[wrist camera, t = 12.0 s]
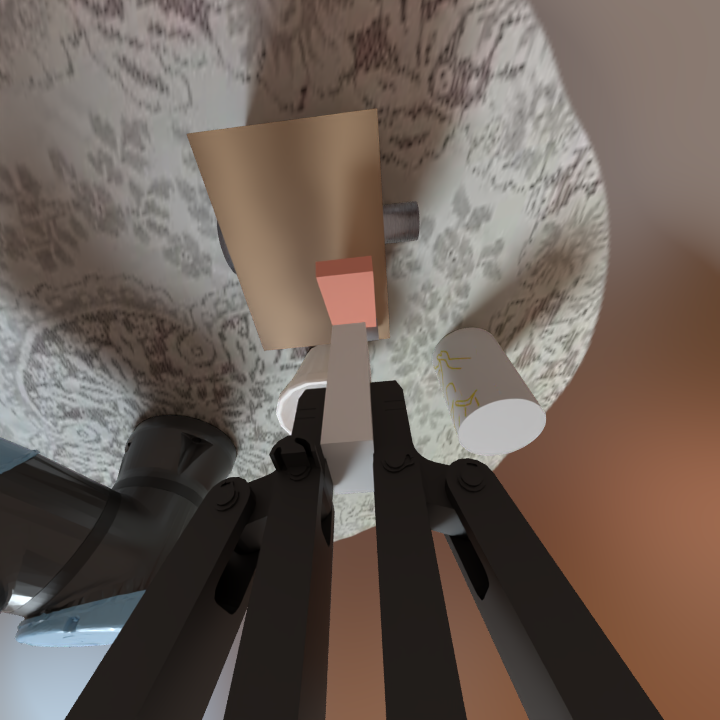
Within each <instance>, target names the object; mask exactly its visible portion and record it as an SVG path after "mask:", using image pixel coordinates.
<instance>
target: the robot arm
mask: <svg viewBox="0 0 720 720" xmlns="http://www.w3.org/2000/svg"><path fill="white" fill-rule="evenodd" d="M38 453H40V451H38V450H30V449H28V448H25V447H23V446H20V445H18V444H16V443H13V442H11V441H8V440H6V439H4V438H1V437H0V613H1V612H4V613H10V614H14V615H19V616H23V617H24V618H25V619H24V621H22V622H21V623H20V624H19V626H18V631H17V634H16V641H18V642H19V643H26V644H29V645H32V646H46V647H74V646H76V647H78V646H96V645H107V644H112V645H111V647H110V648H109V650H108V651H107V653H106V655H105V656H104V658H103V660H102V661H101V663H100V664H99V666H98V667H97V669H96V671H95V672H94V674H93V675H92V677H91V678H90V680H89V682H88V683H87V685H86V687H85V688H84V689H83V691H82V693H81V694H80V696H79V697H78V699H77V701H76V702H75V704H74V705H73V707H72V708H71V710H70V712H69V713H68V715H67V716H66V718H65V720H202V718H203V716H204V713H205V711H206V708H207V706H208V703H209V701H210V698H211V696H212V693H213V691H214V689H215V686H216V684H217V681H218V679H219V676H220V674H221V671H222V669H223V666H224V664H225V661H226V659H227V657H228V654H229V651H230V649H231V647H232V644H233V642H234V639H235V637H236V634H237V632H238V629H239V627H240V624H241V622H242V620H243V617H244V615H245V612H246V610H247V613H246V617H245V622H244V627H243V631H242V636H241V640H240V645H239V650H238V655H237V659H236V664H235V668H234V674H233V678H232V682H231V687H230V691H229V696H228V701H227V705H226V710H225V714H224V719H223V720H325V714H326V713H325V712H326V691H327V670H328V646H329V626H330V604H331V581H332V558H333V537H334V515H335V511H334V505H333V502H332V499H333V489H334V493H335V495H336V494H350V493H363V492H374V498H375V516H376V535H377V553H378V571H379V589H380V608H381V627H382V646H383V664H384V683H385V702H386V720H467V718H466V712H465V707H464V702H463V697H462V691H461V686H460V680H459V675H458V670H457V665H456V660H455V654H454V649H453V644H452V638H451V633H450V628H449V622H448V617H447V612H446V606H445V601H444V596H443V591H442V585H441V580H440V575H439V570H438V564H437V559H436V554H435V549H434V543H433V537H432V532H431V530H434V531H437V532H441V533H444V535H445V537H446V539H447V542H448V544H449V546H450V548H451V550H452V553H453V555H454V557H455V559H456V561H457V563H458V565H459V568H460V570H461V572H462V574H463V576H464V578H465V581H466V583H467V585H468V587H469V589H470V592H471V594H472V596H473V598H474V600H475V603H476V604H477V607H478V609H479V611H480V613H481V615H482V618H483V619H484V622H485V624H486V626H487V628H488V631H489V633H490V635H491V637H492V639H493V642H494V644H495V646H496V648H497V650H498V652H499V654H500V657H501V659H502V661H503V663H504V666H505V668H506V670H507V672H508V674H509V676H510V679H511V681H512V683H513V685H514V687H515V689H516V692H517V694H518V696H519V698H520V700H521V703H522V705H523V707H524V709H525V711H526V713H527V716H528V718H529V720H664V719H663V718H662V716H661V715H660V714H659V712H658V710H657V709H656V708H655V706H654V705H653V703H652V702H651V701H650V699H649V697H648V696H647V695H646V693H645V692H644V690H643V689H642V688H641V686H640V684H639V683H638V681H637V680H636V679H635V677H634V676H633V674H632V673H631V671H630V670H629V668H628V667H627V665H626V664H625V663H624V661H623V660H622V658H621V657H620V655H619V654H618V652H617V651H616V650H615V648H614V647H613V645H612V644H611V642H610V641H609V639H608V638H607V637H606V635H605V634H604V632H603V631H602V629H601V628H600V626H599V625H598V623H597V622H596V621H595V619H594V618H593V616H592V615H591V613H590V612H589V610H588V609H587V608H586V606H585V605H584V603H583V602H582V600H581V599H580V598H579V596H578V594H577V593H576V592H575V590H574V589H573V587H572V586H571V584H570V583H569V581H568V580H567V579H566V577H565V576H564V574H563V573H562V571H561V570H560V568H559V567H558V566H557V564H556V563H555V561H554V560H553V558H552V557H551V556H550V554H549V553H548V551H547V550H546V548H545V547H544V545H543V544H542V543H541V541H540V540H539V538H538V537H537V535H536V534H535V533H534V531H533V529H532V528H531V526H530V525H529V524H528V522H527V521H526V519H525V518H524V516H523V515H522V514H521V512H520V511H519V509H518V508H517V506H516V505H515V503H514V502H513V500H512V499H511V498H510V496H509V495H508V493H507V492H506V490H505V489H504V488H503V486H502V484H501V483H500V482H499V480H498V479H497V477H496V476H495V474H494V473H493V472H492V471H491V470H490V469H489V468H488V466H487V465H485V464H483V463H481V462H480V461H478V460H474V459H469V458H466V459H458V460H457V461H455V462H453V463H451V465H445V464H441V463H436V462H433V461H430V460H428V459H426V458H424V457H422V456H421V455H420V454H419V453H418V452H417V451H416V449H415V448H414V445H413V442H412V437H411V432H410V426H409V421H408V416H407V410H406V405H405V399H404V394H403V389H402V388H401V387H400V385H399V384H398V383H397V382H396V380H394V381H383V382H372V383H371V369H370V360H369V351H368V341H367V332H366V323H365V322H361V323H351V324H341V325H333V326H332V336H331V345H330V355H329V365H328V375H327V384H326V387H325V388H314V389H305V391H304V392H303V393H302V395H301V396H300V398H299V399H298V404H297V409H296V414H295V421H294V424H293V429H292V434H291V435H290V436H287V437H285V438H283V439H281V440H280V441H278V442H277V443H276V444H275V445H274V446H273V448H272V450H271V452H270V454H269V455H270V458H271V460H272V462H273V464H274V466H275V468H276V470H275V471H274V472H273V473H271V474H269V475H267V476H264V477H262V478H259V479H257V480H254V481H251V482H249V483H247V481H246V480H245V479H242V478H240V477H230V478H227V477H228V476H229V474H230V473H231V471H232V468H233V465H234V462H235V460H236V449H235V446H234V444H233V443H232V441H231V440H230V439H229V438H228V437H227V436H226V435H225V434H224V433H223V432H221V431H220V430H219V429H217V428H215V427H214V426H212V425H210V424H208V423H205V422H203V421H200V420H197V419H194V418H190V417H184V416H176V415H164V416H157V417H152V418H149V419H147V420H145V421H143V422H142V423H140V424H139V425H138V426H137V427H136V429H135V430H134V432H133V433H132V435H131V436H130V437H129V439H128V441H127V443H126V447H125V454H124V457H123V460H122V463H121V467H120V471H119V474H118V478H117V481H116V483H115V484H114V486H113V488H112V489H110V488H108V487H107V486H104V485H102V484H100V483H98V482H96V481H94V480H91V479H89V478H87V477H85V476H83V475H81V474H79V473H77V472H75V471H73V470H71V469H69V468H67V467H65V466H63V465H61V464H59V463H57V462H55V461H53V460H51V459H48V458H46V457H44V456H42V455H40V454H38ZM226 478H227V479H226ZM247 607H248V608H247Z"/></svg>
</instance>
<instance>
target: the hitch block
mask: <svg viewBox="0 0 720 720" xmlns="http://www.w3.org/2000/svg"><path fill="white" fill-rule="evenodd" d="M187 136H188V139H189V142H190V145H191V148H192V150H193V153H194V156H195V159H196V162H197V164H198V167H199V170H200V173H201V176H202V178H203V181H204V184H205V187H206V190H207V192H208V195H209V198H210V201H211V204H212V206H213V209H214V212H215V215H216V217H217V220H218V223H219V226H220V229H221V231H222V234H223V237H224V240H225V243H226V245H227V248H228V251H229V254H230V257H231V259H232V262H233V265H234V268H235V271H236V273H237V276H238V279H239V282H240V285H241V287H242V290H243V293H244V296H245V298H246V301H247V304H248V307H249V310H250V312H251V315H252V318H253V321H254V324H255V326H256V329H257V332H258V335H259V338H260V340H261V343H262V346H263V349H264V351H266V350H276V349H286V348H296V347H306V346H317V345H327V344H331V336H332V323H331V320H330V317H329V314H328V311H327V308H326V305H325V302H324V299H323V297H322V294H321V291H320V288H319V285H318V282H317V279H316V262H319V261H328V260H337V259H346V258H355V257H364V256H372V266H373V278H374V294H375V311H376V318H377V323H378V333H379V339H387V338H390V330H389V312H388V294H387V276H386V257H385V239H384V221H383V203H382V185H381V167H380V149H379V131H378V113H377V108H376V109H368V110H361V111H353V112H346V113H338V114H331V115H323V116H316V117H308V118H301V119H293V120H286V121H279V122H271V123H264V124H256V125H249V126H241V127H234V128H226V129H219V130H211V131H204V132H196V133H189V134H187Z"/></svg>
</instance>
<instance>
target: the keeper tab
mask: <svg viewBox="0 0 720 720" xmlns="http://www.w3.org/2000/svg"><path fill="white" fill-rule="evenodd" d="M316 279H317V282H318V285H319V288H320V291H321V294H322V297H323V299H324V302H325V305H326V308H327V311H328V314H329V317H330V320H331V323H332V326H333V325H341V324H351V323H361V322H365V323H366V332H367V341H372V340H379V333H378V323H377V318H376V311H375V294H374V278H373V266H372V256H364V257H355V258H346V259H337V260H328V261H319V262H316Z"/></svg>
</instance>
